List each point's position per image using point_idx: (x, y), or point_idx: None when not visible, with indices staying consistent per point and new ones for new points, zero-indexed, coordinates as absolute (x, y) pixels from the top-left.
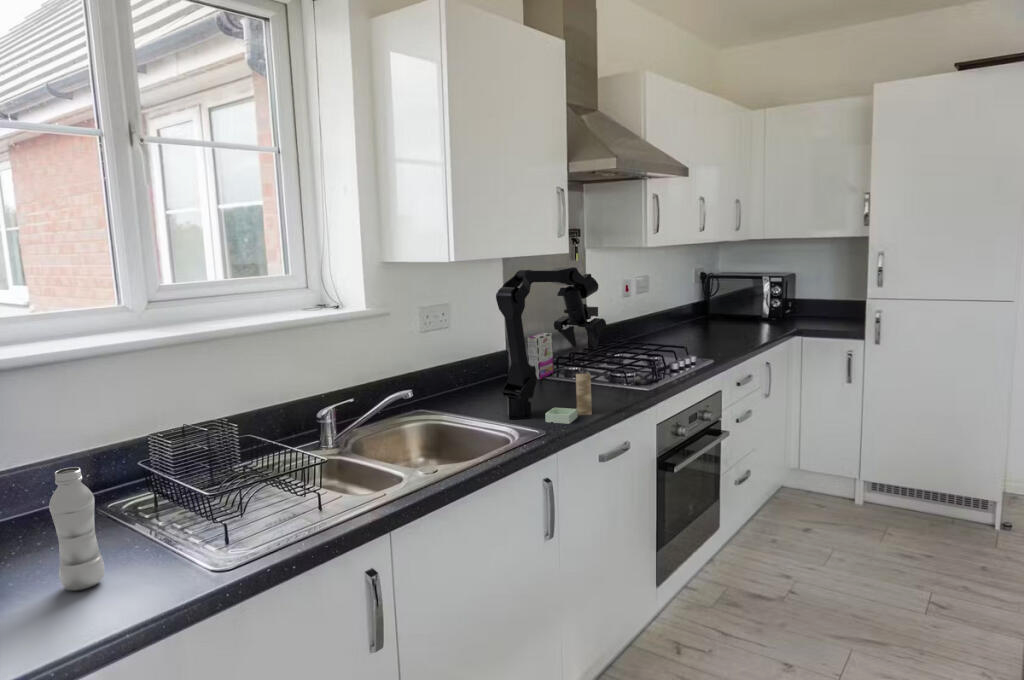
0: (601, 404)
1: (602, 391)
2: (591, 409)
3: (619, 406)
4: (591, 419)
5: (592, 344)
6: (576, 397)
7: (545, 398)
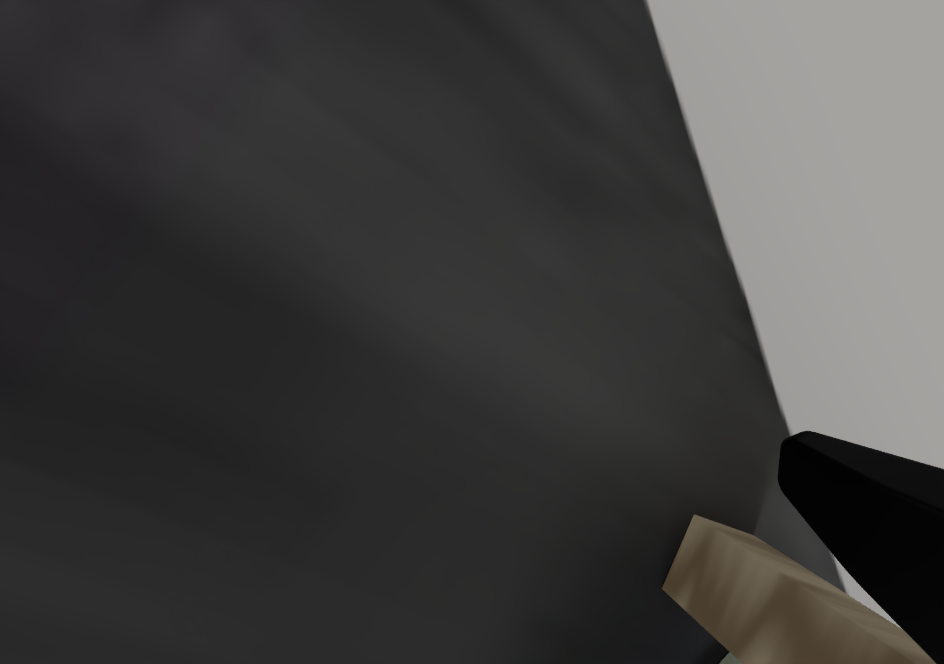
0: (600, 364)
1: (219, 98)
2: (777, 550)
3: (709, 292)
4: (820, 575)
5: (929, 618)
6: (728, 648)
7: (177, 654)
